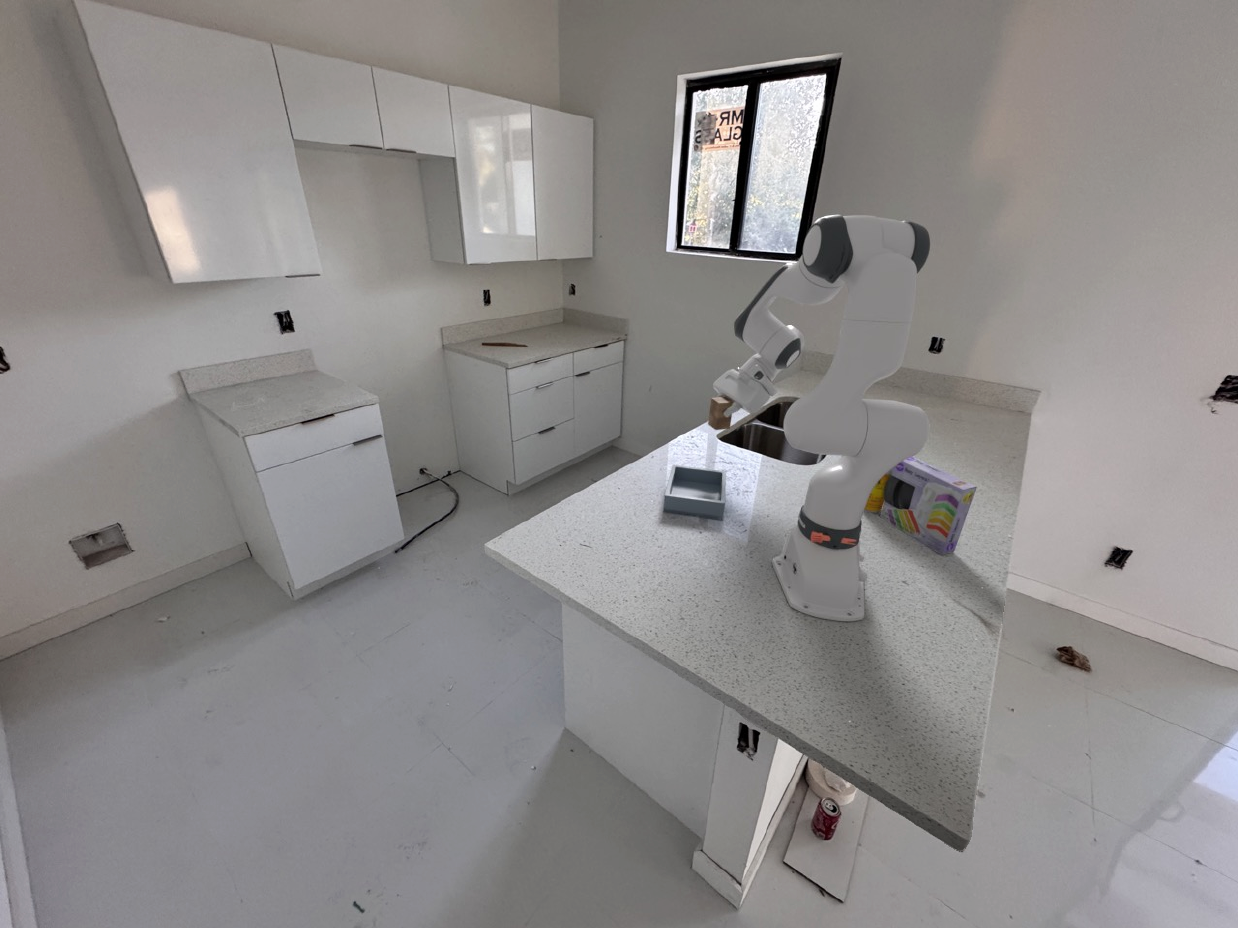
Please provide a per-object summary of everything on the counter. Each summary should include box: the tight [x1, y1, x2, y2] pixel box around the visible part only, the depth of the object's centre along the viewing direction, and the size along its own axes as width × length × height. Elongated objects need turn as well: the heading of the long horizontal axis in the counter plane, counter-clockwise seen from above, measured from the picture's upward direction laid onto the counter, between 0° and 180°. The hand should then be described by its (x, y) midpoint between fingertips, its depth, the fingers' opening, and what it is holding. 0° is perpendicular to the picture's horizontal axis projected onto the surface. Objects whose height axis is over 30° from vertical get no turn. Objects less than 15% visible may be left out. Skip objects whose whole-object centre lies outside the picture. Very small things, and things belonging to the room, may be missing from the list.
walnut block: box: [707, 396, 734, 431], centre depth 141 cm, size 5×5×8 cm
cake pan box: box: [879, 456, 978, 555], centre depth 119 cm, size 19×5×18 cm, turn 21°
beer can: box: [864, 468, 893, 514], centre depth 130 cm, size 6×6×15 cm
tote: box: [662, 464, 727, 521], centre depth 133 cm, size 18×15×5 cm
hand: (718, 411), depth 140 cm, fingers closed on walnut block, 5 cm apart
